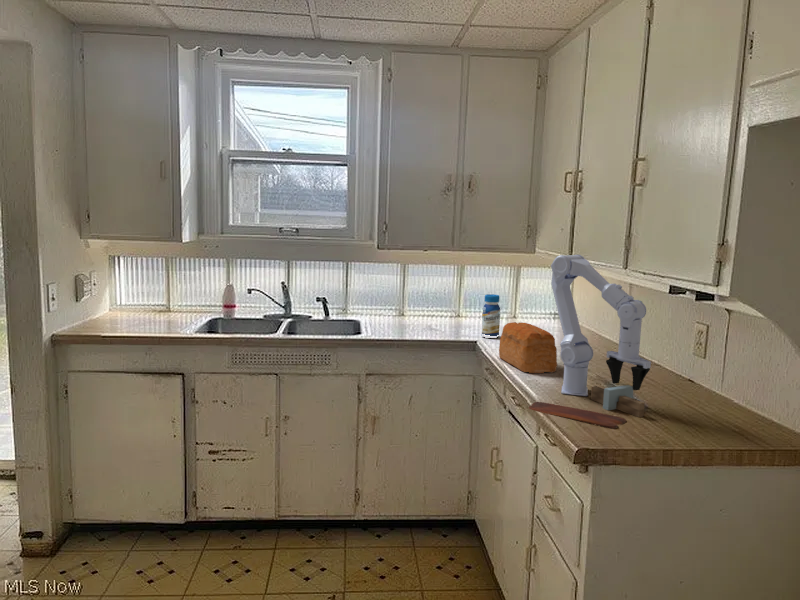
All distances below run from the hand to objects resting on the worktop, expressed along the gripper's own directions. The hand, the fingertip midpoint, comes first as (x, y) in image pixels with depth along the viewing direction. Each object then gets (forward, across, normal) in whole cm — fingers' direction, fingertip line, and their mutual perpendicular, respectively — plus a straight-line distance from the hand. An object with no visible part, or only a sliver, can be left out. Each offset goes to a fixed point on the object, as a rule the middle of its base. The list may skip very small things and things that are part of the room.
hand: (625, 386), depth 174 cm
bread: (+7, +52, -6) cm, 53 cm away
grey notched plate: (+6, 0, +3) cm, 7 cm away
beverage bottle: (+7, +100, -25) cm, 104 cm away
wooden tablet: (+7, 0, +19) cm, 21 cm away
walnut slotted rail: (+6, 0, +4) cm, 7 cm away
